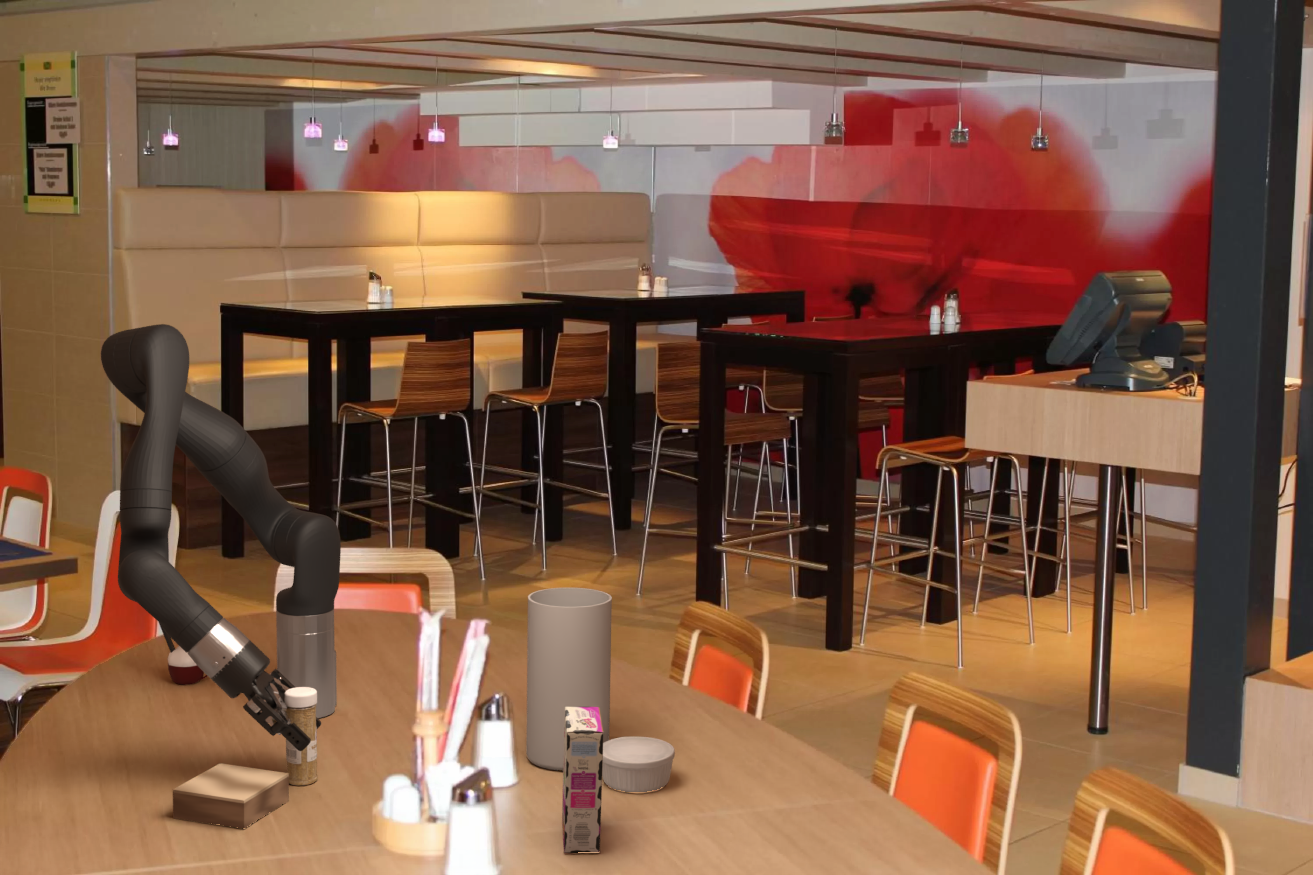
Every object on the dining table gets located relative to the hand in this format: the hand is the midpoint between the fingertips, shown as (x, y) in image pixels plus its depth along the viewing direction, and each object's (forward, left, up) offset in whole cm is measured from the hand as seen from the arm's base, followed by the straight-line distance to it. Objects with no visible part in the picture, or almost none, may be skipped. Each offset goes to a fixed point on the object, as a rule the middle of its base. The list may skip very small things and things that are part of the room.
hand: (311, 737), depth 222 cm
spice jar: (+1, -1, -7) cm, 7 cm away
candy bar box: (+6, +44, -7) cm, 44 cm away
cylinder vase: (-22, +31, -7) cm, 39 cm away
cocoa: (-34, -45, -7) cm, 57 cm away
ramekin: (-16, +44, -7) cm, 47 cm away
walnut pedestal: (+14, -4, -6) cm, 16 cm away
